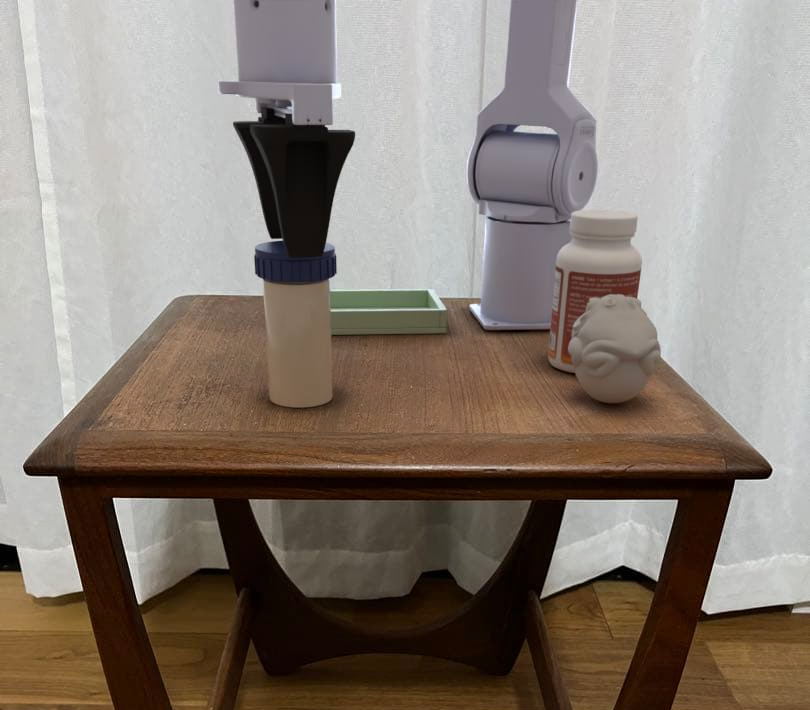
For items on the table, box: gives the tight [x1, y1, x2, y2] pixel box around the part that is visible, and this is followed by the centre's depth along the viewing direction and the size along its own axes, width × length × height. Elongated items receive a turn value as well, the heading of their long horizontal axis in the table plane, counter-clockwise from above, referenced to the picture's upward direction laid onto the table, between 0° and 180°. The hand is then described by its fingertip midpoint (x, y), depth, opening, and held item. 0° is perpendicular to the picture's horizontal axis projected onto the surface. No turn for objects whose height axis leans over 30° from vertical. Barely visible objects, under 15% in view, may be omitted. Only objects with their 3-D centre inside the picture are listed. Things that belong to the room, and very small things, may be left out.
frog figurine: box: [568, 294, 662, 404], centre depth 59 cm, size 6×7×7 cm
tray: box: [330, 288, 448, 336], centre depth 77 cm, size 13×8×2 cm, turn 97°
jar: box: [261, 278, 334, 409], centre depth 58 cm, size 4×4×9 cm
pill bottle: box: [547, 209, 643, 374], centre depth 65 cm, size 6×6×11 cm
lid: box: [253, 240, 338, 283], centre depth 55 cm, size 5×5×2 cm
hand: (295, 246), depth 55 cm, fingers open, 6 cm apart
